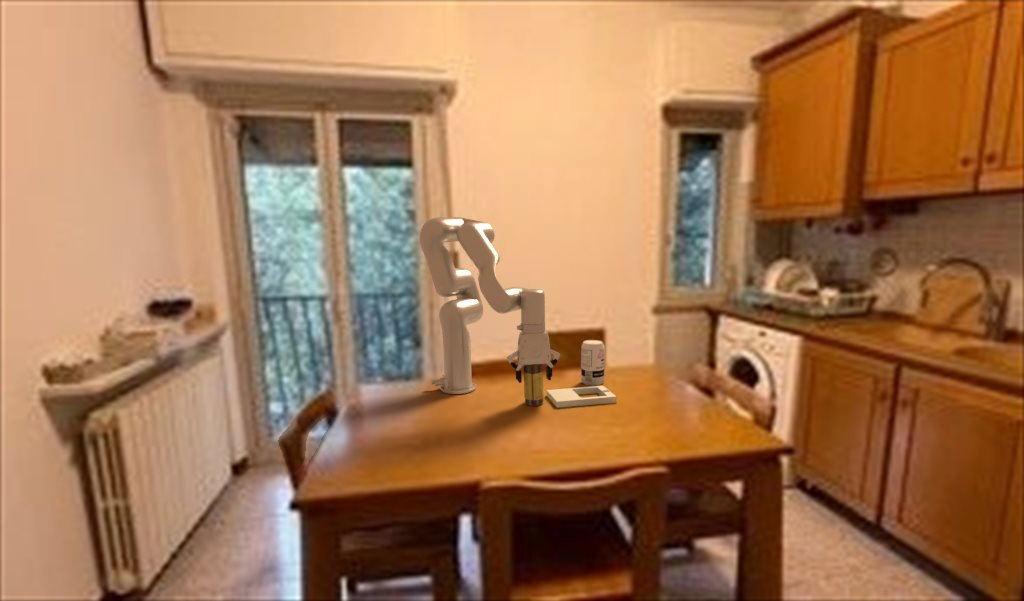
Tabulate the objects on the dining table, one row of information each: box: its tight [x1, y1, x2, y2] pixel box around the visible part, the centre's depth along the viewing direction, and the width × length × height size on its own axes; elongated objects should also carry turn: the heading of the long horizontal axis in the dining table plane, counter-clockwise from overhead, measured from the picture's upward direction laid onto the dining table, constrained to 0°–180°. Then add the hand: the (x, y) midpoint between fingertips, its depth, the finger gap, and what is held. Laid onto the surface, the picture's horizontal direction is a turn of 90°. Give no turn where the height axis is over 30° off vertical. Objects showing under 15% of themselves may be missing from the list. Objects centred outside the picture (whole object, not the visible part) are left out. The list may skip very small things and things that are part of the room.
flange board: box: [546, 385, 617, 409], centre depth 186 cm, size 20×12×2 cm, turn 102°
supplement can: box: [580, 339, 606, 387], centre depth 202 cm, size 8×8×15 cm
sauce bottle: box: [523, 364, 545, 407], centre depth 181 cm, size 6×6×20 cm
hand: (534, 380), depth 181 cm, fingers open, 9 cm apart
